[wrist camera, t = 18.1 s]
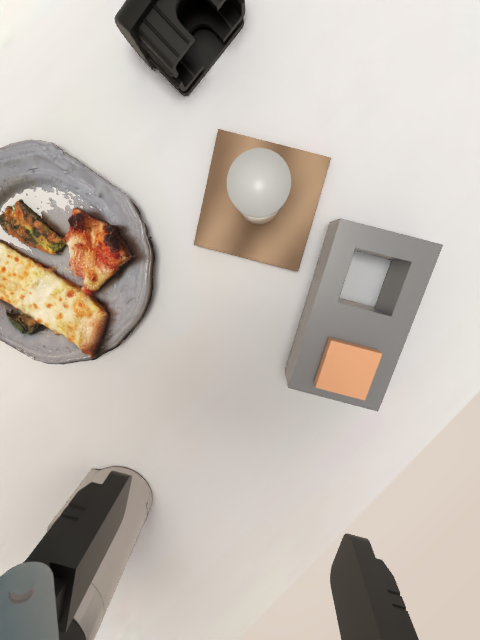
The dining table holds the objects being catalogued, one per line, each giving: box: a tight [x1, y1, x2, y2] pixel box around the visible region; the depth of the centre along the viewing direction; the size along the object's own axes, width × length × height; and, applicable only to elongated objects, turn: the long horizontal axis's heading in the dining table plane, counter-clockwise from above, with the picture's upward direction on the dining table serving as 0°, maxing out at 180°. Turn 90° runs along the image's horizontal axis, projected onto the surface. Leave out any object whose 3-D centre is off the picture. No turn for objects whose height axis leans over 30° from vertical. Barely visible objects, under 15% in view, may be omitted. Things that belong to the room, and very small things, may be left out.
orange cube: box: [314, 337, 382, 400], centre depth 35 cm, size 5×5×5 cm
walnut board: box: [194, 129, 331, 272], centre depth 35 cm, size 12×12×1 cm
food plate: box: [0, 140, 155, 364], centre depth 38 cm, size 25×23×4 cm
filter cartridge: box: [227, 148, 291, 224], centre depth 30 cm, size 5×5×11 cm
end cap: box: [115, 0, 245, 96], centre depth 30 cm, size 10×7×7 cm
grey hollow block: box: [285, 219, 443, 411], centre depth 35 cm, size 10×18×5 cm, turn 166°
